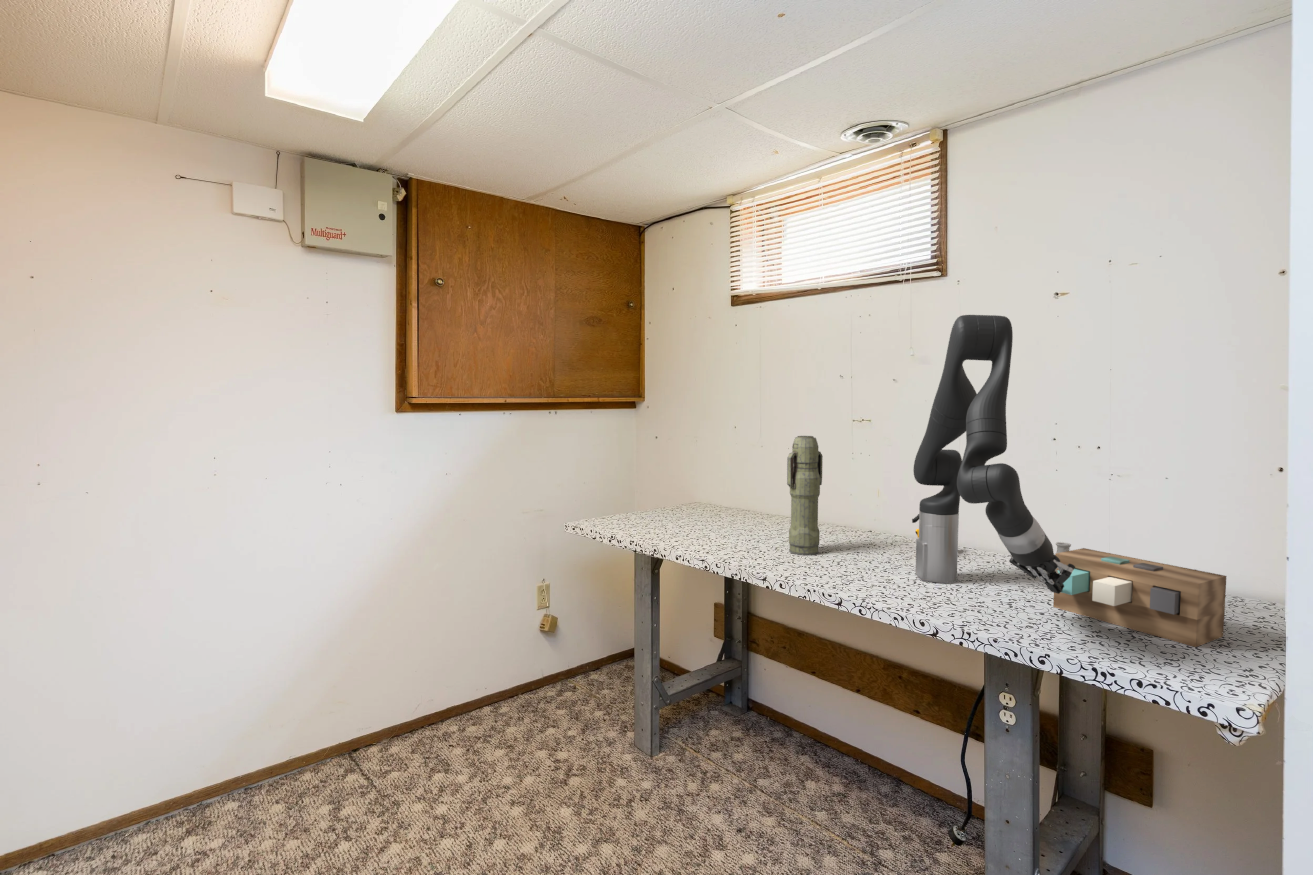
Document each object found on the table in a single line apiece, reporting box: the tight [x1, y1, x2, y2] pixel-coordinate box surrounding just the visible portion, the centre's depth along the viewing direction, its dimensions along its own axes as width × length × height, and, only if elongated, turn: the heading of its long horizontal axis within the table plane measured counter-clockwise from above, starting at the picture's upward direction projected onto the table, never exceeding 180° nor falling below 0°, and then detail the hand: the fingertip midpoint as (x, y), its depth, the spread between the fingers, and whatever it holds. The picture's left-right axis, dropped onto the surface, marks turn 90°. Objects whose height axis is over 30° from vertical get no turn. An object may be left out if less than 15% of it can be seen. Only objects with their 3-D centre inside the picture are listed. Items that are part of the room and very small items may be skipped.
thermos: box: [786, 435, 823, 556], centre depth 191 cm, size 9×12×35 cm
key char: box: [1150, 586, 1181, 614], centre depth 124 cm, size 10×4×4 cm, turn 118°
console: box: [1052, 547, 1227, 648], centre depth 132 cm, size 11×26×12 cm, turn 28°
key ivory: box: [1092, 576, 1133, 606], centre depth 129 cm, size 10×4×4 cm, turn 118°
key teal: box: [1057, 568, 1090, 595], centre depth 136 cm, size 10×4×4 cm, turn 118°
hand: (1057, 589), depth 133 cm, fingers closed
